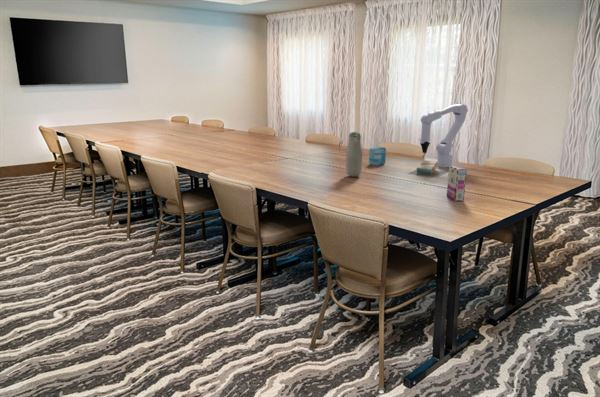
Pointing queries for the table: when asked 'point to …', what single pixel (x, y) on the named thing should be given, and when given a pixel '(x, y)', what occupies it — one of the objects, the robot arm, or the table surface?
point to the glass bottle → (354, 155)
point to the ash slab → (427, 167)
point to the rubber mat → (434, 174)
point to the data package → (377, 156)
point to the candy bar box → (456, 183)
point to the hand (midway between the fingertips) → (424, 152)
